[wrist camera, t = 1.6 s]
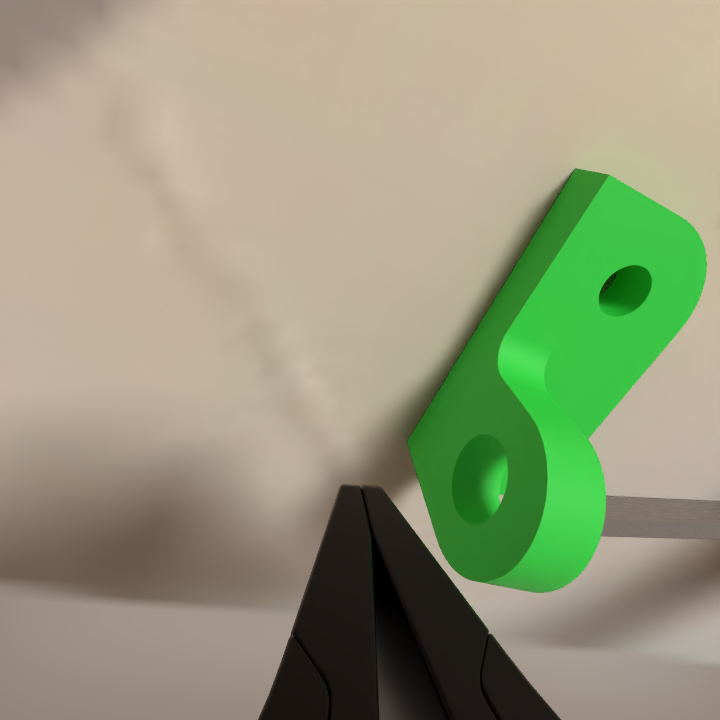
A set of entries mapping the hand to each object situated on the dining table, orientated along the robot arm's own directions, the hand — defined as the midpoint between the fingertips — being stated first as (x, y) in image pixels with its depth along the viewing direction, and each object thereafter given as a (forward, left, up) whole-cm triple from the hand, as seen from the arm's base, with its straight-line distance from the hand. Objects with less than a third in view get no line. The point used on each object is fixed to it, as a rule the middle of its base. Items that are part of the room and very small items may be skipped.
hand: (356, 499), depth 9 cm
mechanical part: (-8, 0, -8) cm, 12 cm away
